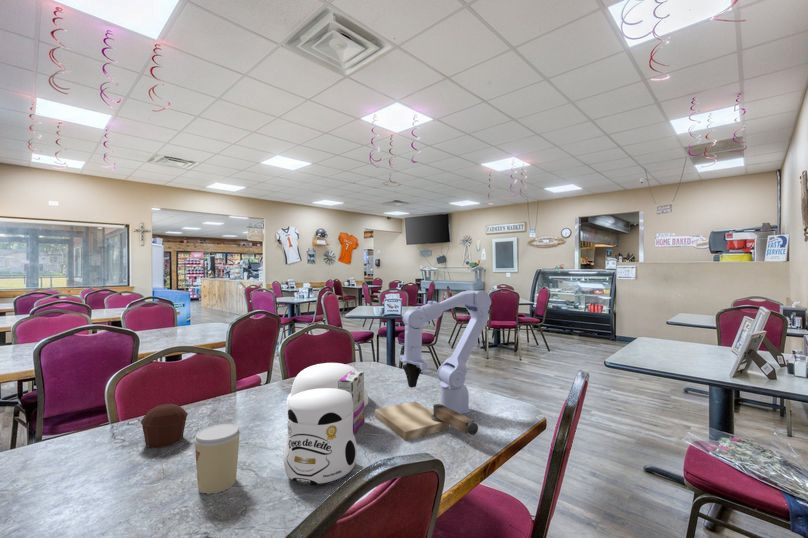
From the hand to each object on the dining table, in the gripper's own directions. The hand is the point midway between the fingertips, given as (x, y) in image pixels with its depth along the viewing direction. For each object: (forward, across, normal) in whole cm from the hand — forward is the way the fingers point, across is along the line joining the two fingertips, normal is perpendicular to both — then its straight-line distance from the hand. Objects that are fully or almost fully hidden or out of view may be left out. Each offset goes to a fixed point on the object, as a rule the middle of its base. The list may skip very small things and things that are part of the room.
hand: (412, 386), depth 121 cm
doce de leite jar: (+12, +17, -36) cm, 42 cm away
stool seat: (+10, +3, -2) cm, 11 cm away
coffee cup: (+12, +10, -58) cm, 60 cm away
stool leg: (+7, +17, +4) cm, 19 cm away
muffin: (+12, -22, -70) cm, 75 cm away
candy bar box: (+11, -3, -20) cm, 23 cm away
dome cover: (+12, -28, -19) cm, 36 cm away
